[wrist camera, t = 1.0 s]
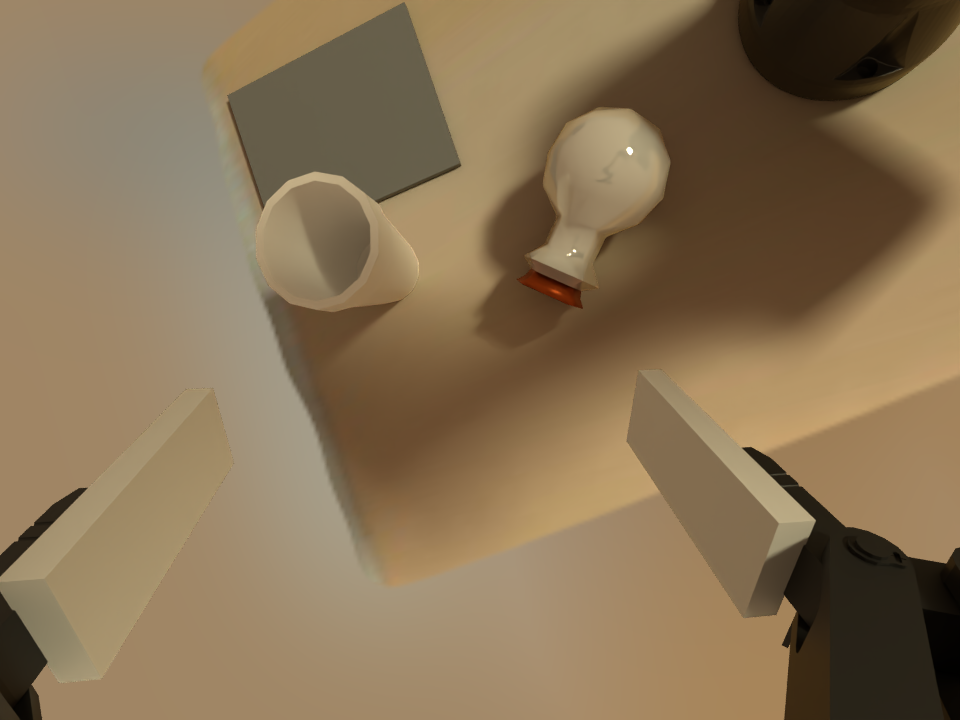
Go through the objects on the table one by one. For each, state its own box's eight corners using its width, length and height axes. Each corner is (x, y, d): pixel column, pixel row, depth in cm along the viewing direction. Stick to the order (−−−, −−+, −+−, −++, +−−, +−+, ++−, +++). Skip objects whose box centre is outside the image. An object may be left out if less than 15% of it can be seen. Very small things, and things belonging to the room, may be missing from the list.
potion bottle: (640, 144, 41) (567, 299, 44) (553, 87, 37) (480, 263, 40) (721, 139, 33) (624, 328, 36) (622, 65, 29) (523, 287, 32)
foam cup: (380, 338, 45) (306, 336, 32) (325, 265, 46) (231, 235, 33) (454, 275, 43) (406, 247, 31) (395, 201, 44) (325, 143, 31)
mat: (461, 165, 43) (459, 163, 42) (280, 245, 47) (276, 244, 46) (406, 6, 43) (404, 2, 43) (231, 98, 47) (227, 95, 46)
